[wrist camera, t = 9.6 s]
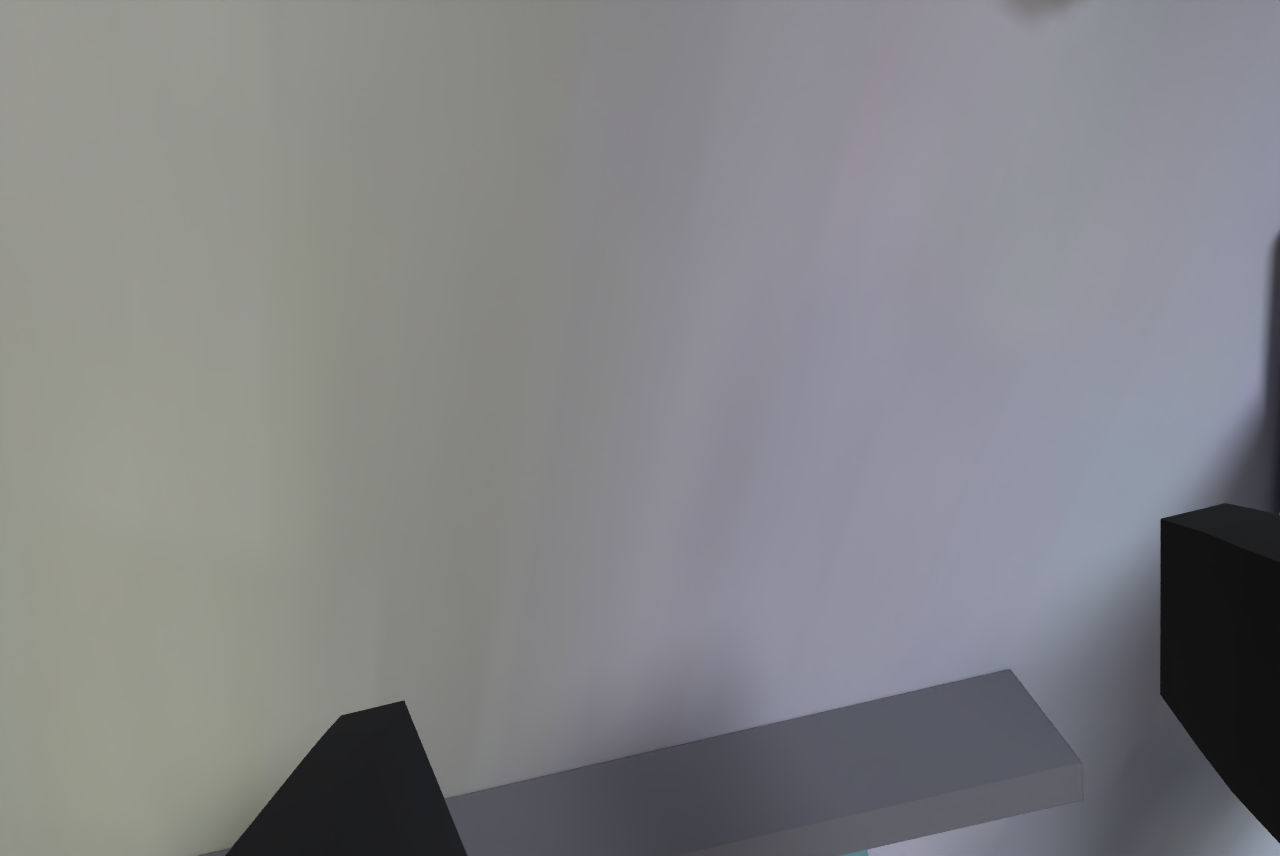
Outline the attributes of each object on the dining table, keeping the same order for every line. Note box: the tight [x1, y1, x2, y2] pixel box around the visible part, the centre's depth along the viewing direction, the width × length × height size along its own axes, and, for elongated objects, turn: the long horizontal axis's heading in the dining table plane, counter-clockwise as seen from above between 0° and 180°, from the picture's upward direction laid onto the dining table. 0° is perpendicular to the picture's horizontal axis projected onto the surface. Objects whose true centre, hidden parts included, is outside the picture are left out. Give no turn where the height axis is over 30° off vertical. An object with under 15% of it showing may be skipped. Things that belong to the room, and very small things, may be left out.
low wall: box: [200, 669, 1083, 856], centre depth 19 cm, size 20×1×3 cm, turn 102°
